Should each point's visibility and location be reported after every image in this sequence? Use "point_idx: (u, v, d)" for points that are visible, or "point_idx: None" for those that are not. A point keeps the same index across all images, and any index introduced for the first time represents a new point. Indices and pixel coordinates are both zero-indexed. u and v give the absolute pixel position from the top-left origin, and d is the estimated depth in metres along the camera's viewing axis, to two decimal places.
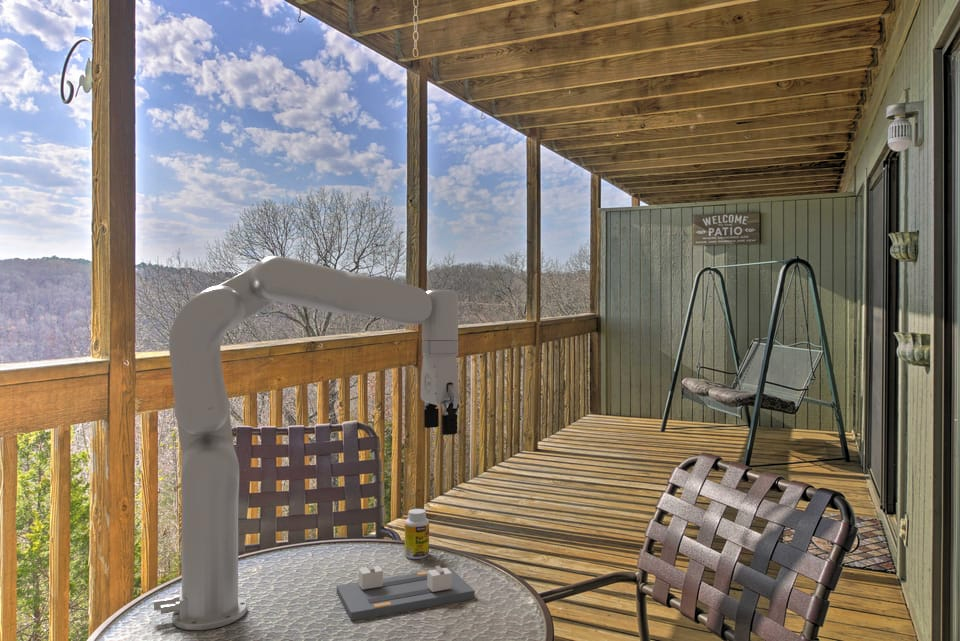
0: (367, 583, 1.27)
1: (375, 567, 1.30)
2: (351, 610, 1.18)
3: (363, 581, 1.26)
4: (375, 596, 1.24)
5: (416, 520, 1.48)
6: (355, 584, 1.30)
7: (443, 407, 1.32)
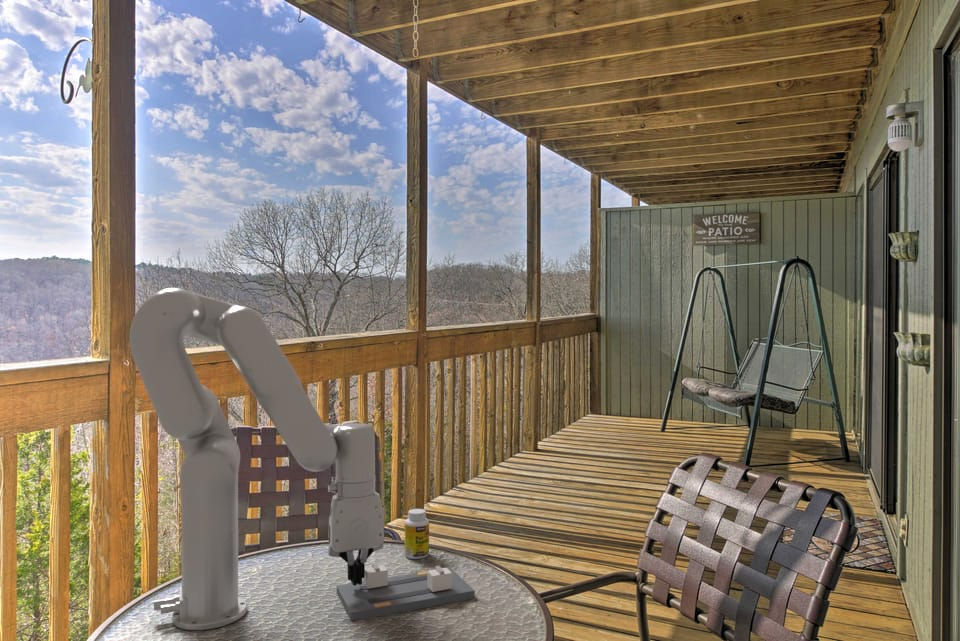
0: (373, 582, 1.27)
1: (380, 566, 1.30)
2: (351, 610, 1.18)
3: (368, 580, 1.27)
4: (375, 596, 1.24)
5: (416, 520, 1.48)
6: None
7: (365, 554, 1.27)
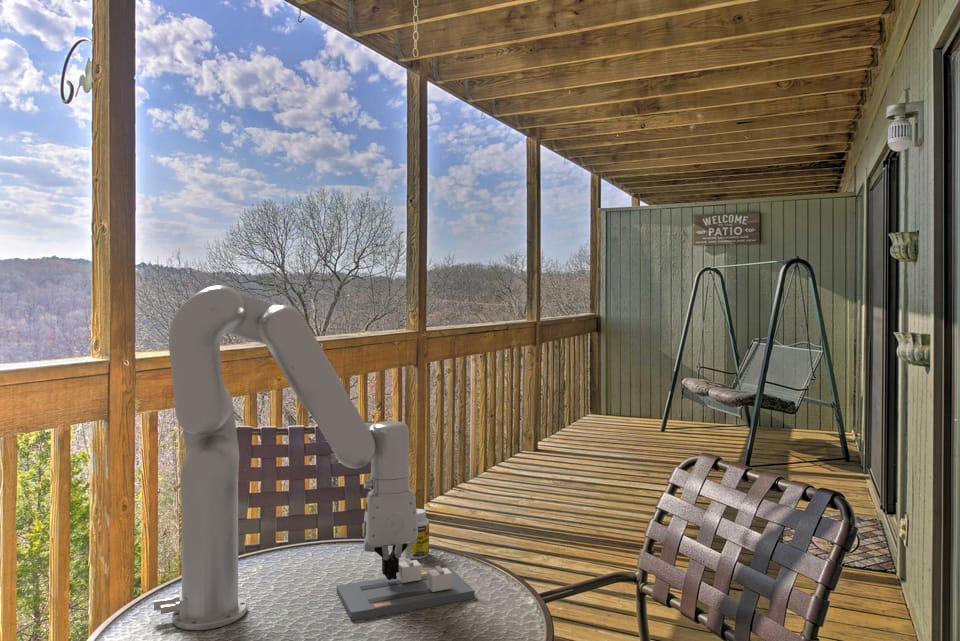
0: (407, 576, 1.30)
1: (413, 561, 1.33)
2: (351, 610, 1.18)
3: (402, 575, 1.30)
4: (375, 596, 1.24)
5: None
6: (355, 584, 1.30)
7: (399, 549, 1.29)
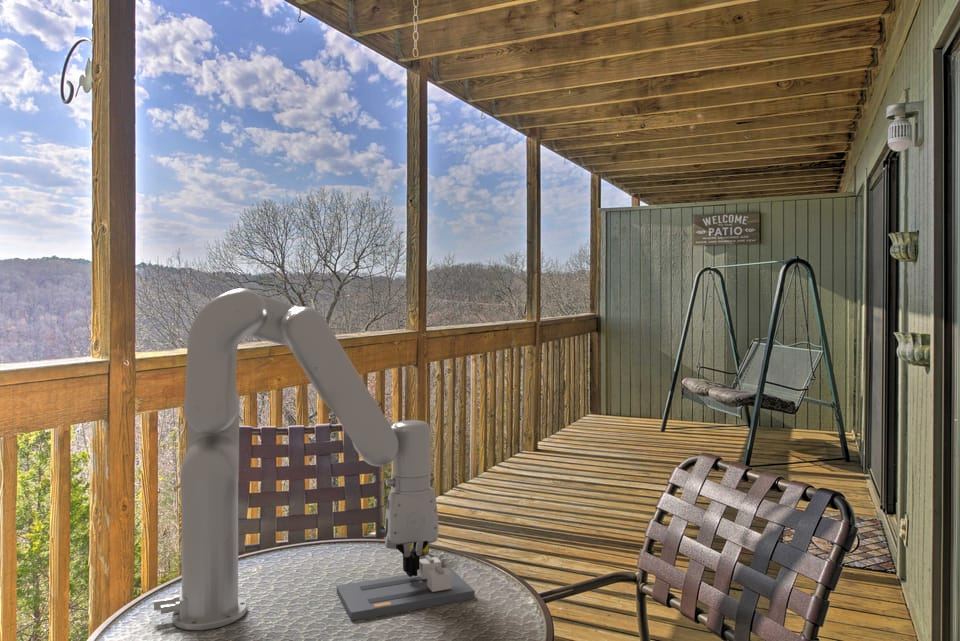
0: None
1: (433, 558, 1.34)
2: (351, 610, 1.18)
3: (423, 571, 1.31)
4: (375, 596, 1.24)
5: None
6: (355, 584, 1.30)
7: (420, 546, 1.31)
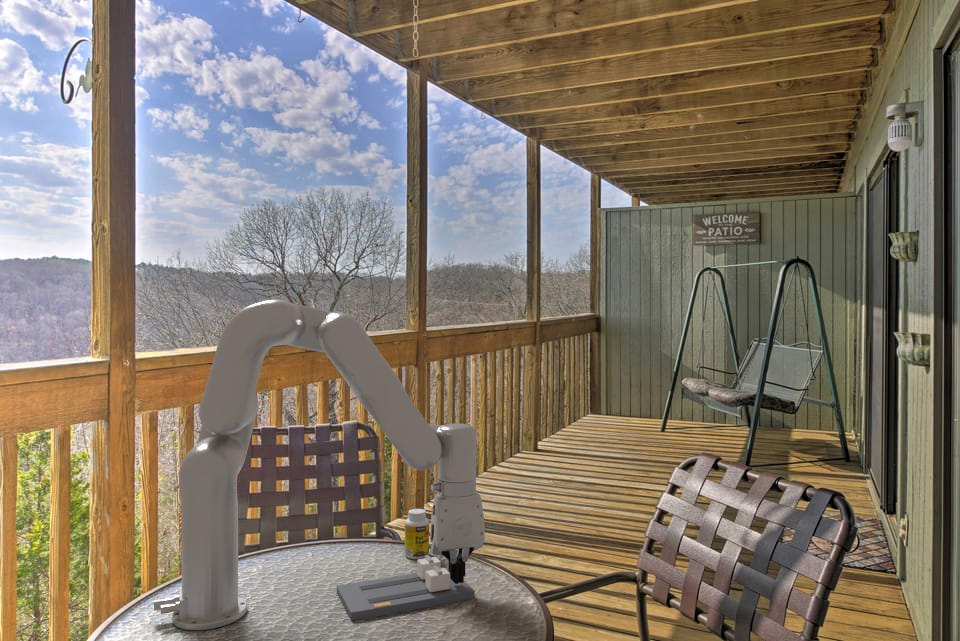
0: None
1: (433, 558, 1.34)
2: (351, 610, 1.18)
3: (422, 571, 1.31)
4: (375, 596, 1.24)
5: (416, 520, 1.48)
6: (355, 584, 1.30)
7: (466, 553, 1.28)
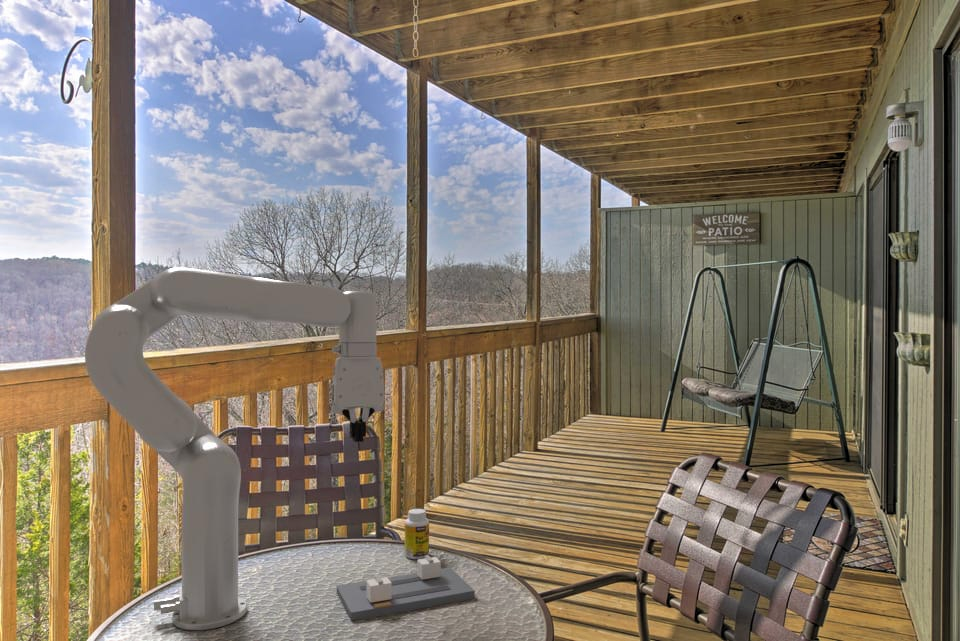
0: (427, 573, 1.32)
1: (433, 558, 1.34)
2: (351, 610, 1.18)
3: (422, 571, 1.31)
4: None
5: (416, 520, 1.48)
6: (355, 584, 1.30)
7: (366, 413, 1.34)
